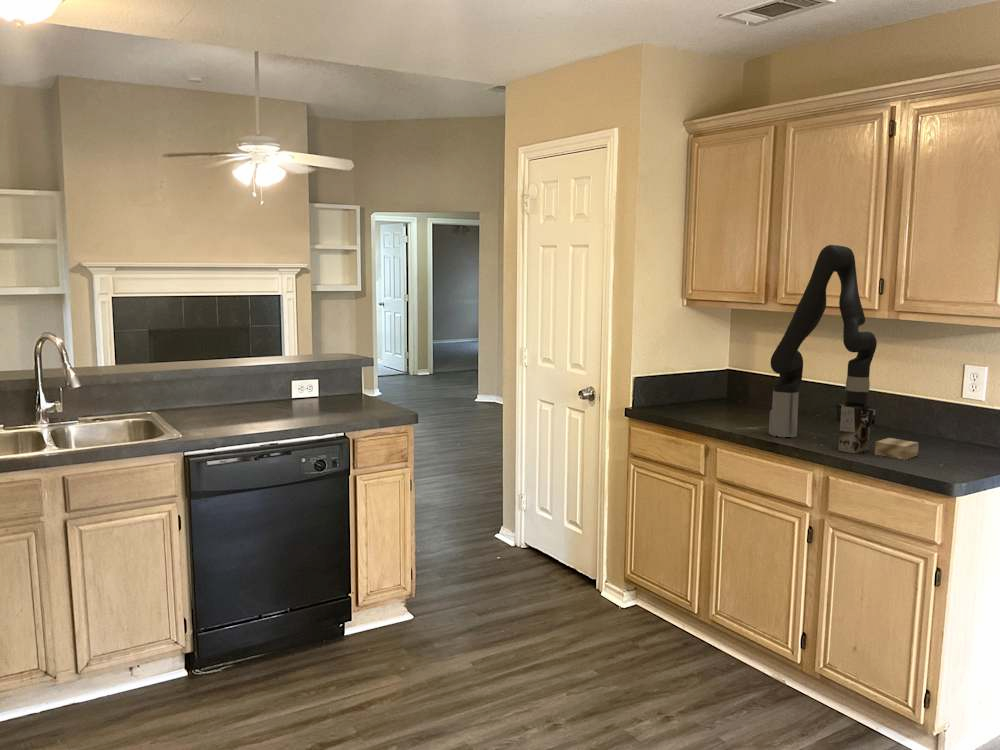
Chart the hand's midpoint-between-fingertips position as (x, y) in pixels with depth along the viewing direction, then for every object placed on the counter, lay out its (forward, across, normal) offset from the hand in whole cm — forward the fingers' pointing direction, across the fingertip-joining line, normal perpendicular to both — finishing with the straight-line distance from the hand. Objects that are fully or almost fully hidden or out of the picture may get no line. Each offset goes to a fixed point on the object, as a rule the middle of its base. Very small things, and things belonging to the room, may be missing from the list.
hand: (854, 436), depth 274 cm
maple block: (+6, +12, +6) cm, 15 cm away
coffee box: (+5, 0, 0) cm, 5 cm away
